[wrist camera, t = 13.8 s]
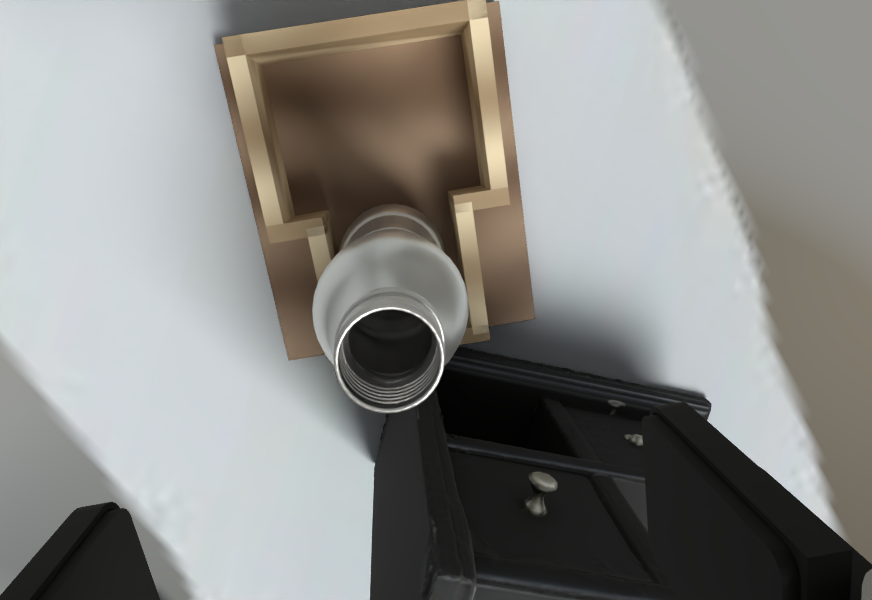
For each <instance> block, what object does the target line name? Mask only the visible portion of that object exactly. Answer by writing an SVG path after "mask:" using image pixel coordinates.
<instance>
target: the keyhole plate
mask: <svg viewBox="0 0 872 600" xmlns="http://www.w3.org/2000/svg"><path fill="white" fill-rule="evenodd" d="M222 41H223V43H222V44H216V45H214V47H215V52H216V56H217V60H218V64H219V69H220V73H221V77H222V81H223V85H224V90H225V94H226V98H227V102H228V106H229V111H230V115H231V119H232V123H233V127H234V132H235V136H236V140H237V144H238V149H239V153H240V157H241V161H242V165H243V170H244V174H245V178H246V182H247V186H248V191H249V195H250V199H251V203H252V207H253V212H254V216H255V220H256V224H257V229H258V233H259V237H260V241H261V245H262V250H263V254H264V258H265V262H266V266H267V271H268V275H269V279H270V283H271V288H272V292H273V296H274V300H275V304H276V309H277V313H278V317H279V321H280V325H281V330H282V334H283V338H284V342H285V346H286V351H287V355H288V359H289V360H295V359H300V358H306V357H312V356H318V355H324V354H325V353H324V351H323V349H322V347H321V345H320V343H319V341H318V339H317V335H316V332H315V329H314V325H313V313H312V308H313V299H314V293H315V290H316V287H317V284H318V281H319V279H320V277H321V275H322V273H323V272H324V270H325V268H326V266H327V265H328V264H329V263H330V261H331V260H332V259H333V258H334V257H335V256H336V255H337V254H338V253H339V249H340V245H341V242H342V238H343V236H344V234H345V232H346V230H347V229H348V227H349V226H350V225H351V223H352V222H353V221H354V220H355V219H356V218H357V217H358V216H360V215H361V214H362V213H363V212H365V211H367V210H369V209H371V208H373V207H376V206H380V205H384V204H400V205H406V206H408V207H411V208H414V209H416V210H418V211H419V212H421V213H422V214H424V215H425V216H426V217H427V218H428V219H429V220H430V221H431V222H432V223H433V224H434V226H435V227H436V228H437V230H438V232H439V234H440V236H441V239H442V241H443V246H444V250H445V254H446V255H447V256H448V257H449V258H450V259H451V260H452V262H453V263H454V264H455V266H456V267H457V269H458V270H459V272H460V274H461V277H462V279H463V281H464V283H465V287H466V291H467V296H468V313H469V315H468V320H467V326H466V331H465V333H464V336H463V338H462V341H461V343H460V345H463V344H469V343H475V342H481V341H487V340H490V333H489V327H490V326H496V325H502V324H507V323H513V322H519V321H525V320H531V319H535V314H534V306H533V297H532V288H531V279H530V270H529V261H528V253H527V244H526V235H525V226H524V217H523V208H522V200H521V191H520V182H519V173H518V164H517V155H516V146H515V138H514V129H513V120H512V111H511V102H510V93H509V85H508V76H507V67H506V58H505V49H504V40H503V31H502V23H501V14H500V5H499V1H496V2H489V3H486V0H463V1H456V2H449V3H443V4H436V5H430V6H423V7H417V8H410V9H404V10H397V11H391V12H384V13H378V14H371V15H365V16H358V17H352V18H345V19H338V20H332V21H325V22H319V23H312V24H306V25H299V26H293V27H286V28H280V29H273V30H267V31H260V32H254V33H247V34H240V35H234V36H227V37H222Z"/></svg>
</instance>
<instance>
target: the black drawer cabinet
mask: <svg viewBox="0 0 872 600" xmlns="http://www.w3.org/2000/svg"><path fill="white" fill-rule="evenodd" d="M678 402H685V403H687V404H688V405H690V406H691V407H692V408H693V409H694V410H695V411H696V412H697V413H699V414H700V415H701V416H702V417H703V418H704V419H705V420H707V419H708V417H709V414H710V411H711V403H710V402H709V401H708V400H707V399H704V398H700V397H695V396H691V395H686V394H681V393H676V392H671V391H666V390H661V389H657V388H652V387H647V386H642V385H638V384H633V383H627V382H623V381H621V380H617V379H616V380H613V379H608V378H604V377H600V376H594V375H591V374H585V373H579V372H575V371H572V370H570V369H566V368H558V367H552V366H548V365H543V364H537V363H532V362H529V361H524V360H518V359H513V358H508V357H504V356H499V355H494V354H489V353H485V352H479V351H475V350H470V349H466V348H460V347H458V348H457V350H456V351H455V353H454V355H453V356H452V358H451V359H450V361H449V362H448V363H447V364H446V365H445V366H444V370H443V373H442V376H441V378H440V381H439V383H438V385H437V386H436V388H435V389H434V391H433V392H432V393H431V394H430V395H429V396H428V397H427V399H425V400H424V401H423V402H421V403H420V404H419V405H417V406H415V407H413V408H411V409H409V410H405V411H402V412H398V413H387V414H386V423H385V424H384V427H383V432H382V434H381V438H380V439H381V442H380V447H379V451H378V455H377V460H376V463H375V468H374V498H373V525H372V556H371V586H370V600H679V599H678V597H677V595H676V594H675V592H674V591H673V589H672V587H671V586H670V584H669V583H668V581H667V580H666V578H665V576H664V575H663V573H662V572H661V570H660V568H659V567H658V565H657V564H656V562H655V560H654V558H653V555H652V552H651V549H650V545H649V538H648V522H647V505H646V489H645V473H644V456H643V440H642V418H643V417H645V416H650V411H651V408H652V407H655V406H661V405H666V404H672V403H678Z"/></svg>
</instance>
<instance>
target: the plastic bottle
mask: <svg viewBox="0 0 872 600" xmlns="http://www.w3.org/2000/svg"><path fill="white" fill-rule="evenodd" d="M312 313H313V325H314V329H315V332H316V335H317V339H318V341H319V343H320V345H321V347H322V349H323V351H324V353H325V354H326V356H327V358H328V359H329V360H330V361H331V363H332V364H333V365H334V369H335V373H336V377H337V380H338V382H339V384H340V386H341V388H342V390H343V391H344V392H345V393H346V394H347V396H348V397H349V398H350V399H351V400H353V401H354V402H355V403H356V404H358V405H360V406H362V407H363V408H365V409H368V410H371V411H374V412H379V413H398V412H402V411H405V410H409V409H411V408H413V407H415V406H417V405H419V404H420V403H421V402H423V401H424V400H425V399H427V397H428V396H429V395H430V394H431V393H432V392H433V391H434V389H435V388H436V386H437V385H438V383H439V381H440V378H441V376H442V373H443V370H444V366H445V365H446V364H447V363H448V362H449V361H450V359H451V358H452V356H453V355H454V353H455V351H456V350H457V348H458V347H459V345H460V343H461V341H462V338H463V336H464V333H465V331H466V326H467V320H468V315H469V313H468V296H467V291H466V287H465V283H464V281H463V279H462V277H461V274H460V272H459V270H458V269H457V267H456V266H455V264H454V263H453V262H452V260H451V259H450V258H449V257H448V256H447V255H446V254H445V250H444V246H443V241H442V239H441V236H440V234H439V232H438V230H437V228H436V227H435V226H434V224H433V223H432V222H431V221H430V220H429V219H428V218H427V217H426V216H425V215H424V214H422V213H421V212H419V211H418V210H416V209H414V208H411V207H408V206H406V205H400V204H384V205H380V206H376V207H373V208H371V209H369V210H367V211H365V212H363V213H362V214H361V215H360V216H358V217H357V218H356V219H355V220H354V221H353V222H352V223H351V225H350V226H349V227H348V229H347V230H346V232H345V234H344V236H343V238H342V242H341V245H340V249H339V253H338V254H337V255H336V256H335V257H334V258H333V259H332V260H331V261H330V263H329V264H328V265H327V266H326V268H325V270H324V272H323V273H322V275H321V277H320V279H319V281H318V284H317V287H316V290H315V293H314V299H313V308H312Z"/></svg>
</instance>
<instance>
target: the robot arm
mask: <svg viewBox="0 0 872 600" xmlns="http://www.w3.org/2000/svg"><path fill="white" fill-rule="evenodd" d="M642 440H643V456H644V473H645V489H646V505H647V522H648V538H649V545H650V549H651V552H652V555H653V558H654V560H655V562H656V564H657V565H658V567H659V568H660V570H661V572H662V573H663V575H664V576H665V578H666V580H667V581H668V583H669V584H670V586H671V587H672V589H673V591H674V592H675V594H676V595H677V597H678V599H679V600H872V564H871V563H869V562H868V561H867V560H866V559H865V558H864V557H863V556H861V555H860V554H859V553H858V552H857V551H856V550H855V549H853V548H852V547H851V546H850V545H849V544H848V543H847V542H846V541H844V540H843V539H842V538H841V537H840V536H839V535H838V534H836V533H835V532H834V531H833V530H832V529H831V528H830V527H828V526H827V525H826V524H825V523H824V522H823V521H822V520H821V519H819V518H818V517H817V516H816V515H815V514H814V513H813V512H811V511H810V510H809V509H808V508H807V507H806V506H805V505H803V504H802V503H801V502H800V501H799V500H798V499H797V498H795V497H794V496H793V495H792V494H791V493H790V492H789V491H788V490H786V489H785V488H784V487H783V486H782V485H781V484H780V483H778V482H777V481H776V480H775V479H774V478H773V477H772V476H770V475H769V474H768V473H767V472H766V471H765V470H763V469H762V468H760V467H759V466H757V465H756V464H755V463H754V462H753V461H752V460H751V459H750V458H748V457H747V456H746V455H745V454H744V453H743V452H742V451H740V450H739V449H738V448H737V447H736V446H735V445H734V444H733V443H731V442H730V441H729V440H728V439H727V438H726V437H725V436H723V435H722V434H721V433H720V432H719V431H718V430H717V429H716V428H714V427H713V426H712V425H711V424H710V423H709V422H708V421H707V420H705V419H704V418H703V417H702V416H701V415H700V414H699V413H697V412H696V411H695V410H694V409H693V408H692V407H691V406H690V405H688V404H687V403H685V402H678V403H672V404H666V405H661V406H655V407H652V408H651V411H650V416H645V417H643V418H642ZM0 600H160V598H159V595H158V593H157V590H156V587H155V584H154V581H153V578H152V575H151V573H150V570H149V567H148V564H147V561H146V558H145V555H144V552H143V550H142V547H141V544H140V541H139V538H138V535H137V532H136V530H135V527H134V524H133V521H132V518H131V515H130V513H129V512H128V511H127V509H124V508H122V509H120V508H119V506H118V505H117V504H116V503H113V502H108V503H103V504H97V505H91V506H86V507H80V508H77V509H76V510H74V511H73V512H72V513H71V514H70V516H69V517H68V518H67V519H66V520H65V521H64V523H63V524H62V525H61V526H60V527H59V528H58V530H57V531H56V532H55V533H54V534H53V535H52V536H51V538H50V539H49V540H48V541H47V542H46V543H45V545H44V546H43V547H42V548H41V549H40V550H39V551H38V553H37V554H36V555H35V556H34V557H33V558H32V559H31V561H30V562H29V563H28V564H27V565H26V566H25V568H24V569H23V570H22V571H21V572H20V573H19V575H18V576H17V577H16V578H15V579H14V580H13V581H12V583H11V584H10V585H9V586H8V587H7V588H6V590H5V591H4V592H3V593H2V594H1V595H0Z"/></svg>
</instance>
